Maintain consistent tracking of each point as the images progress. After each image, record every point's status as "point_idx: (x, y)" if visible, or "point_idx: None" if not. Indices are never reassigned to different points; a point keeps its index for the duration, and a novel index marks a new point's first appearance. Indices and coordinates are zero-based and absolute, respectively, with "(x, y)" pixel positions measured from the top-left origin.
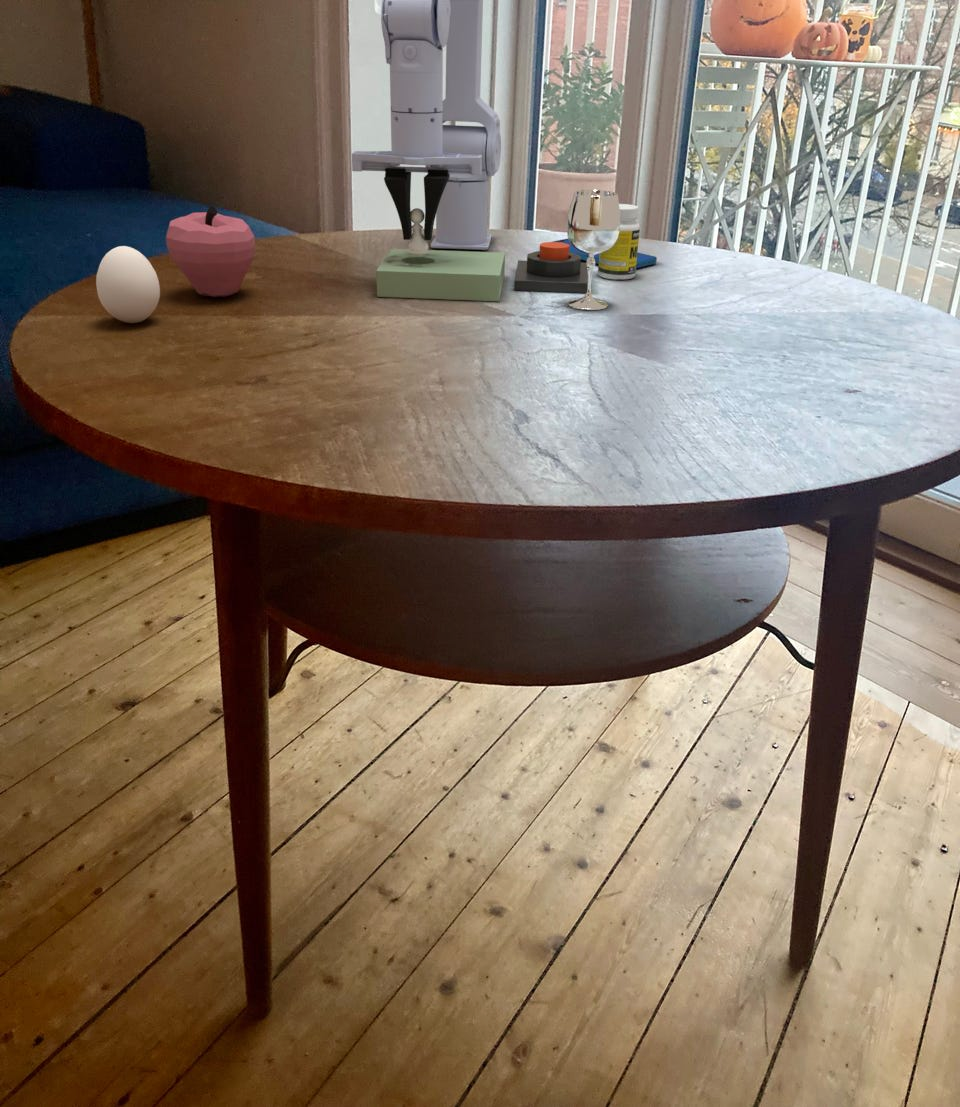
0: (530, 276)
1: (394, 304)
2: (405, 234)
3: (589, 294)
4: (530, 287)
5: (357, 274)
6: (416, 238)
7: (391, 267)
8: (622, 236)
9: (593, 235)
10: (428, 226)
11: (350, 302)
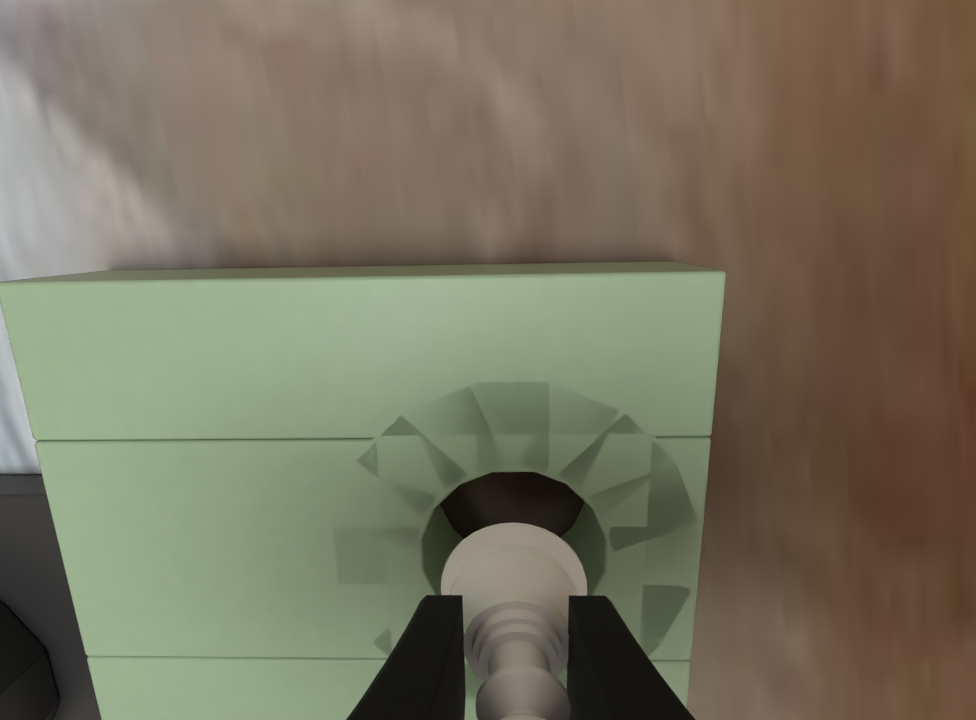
0: (8, 573)
1: (576, 139)
2: (601, 610)
3: None
4: (11, 481)
5: (797, 641)
6: (519, 609)
7: (642, 363)
8: None
9: None
10: (411, 650)
11: (797, 140)
